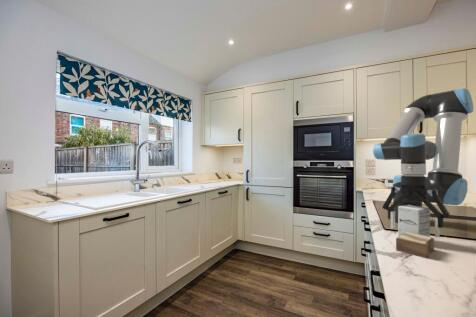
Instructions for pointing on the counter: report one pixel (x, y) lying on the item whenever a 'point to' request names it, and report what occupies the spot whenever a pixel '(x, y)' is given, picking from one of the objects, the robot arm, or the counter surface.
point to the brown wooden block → (415, 244)
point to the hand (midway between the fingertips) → (413, 231)
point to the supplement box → (413, 220)
